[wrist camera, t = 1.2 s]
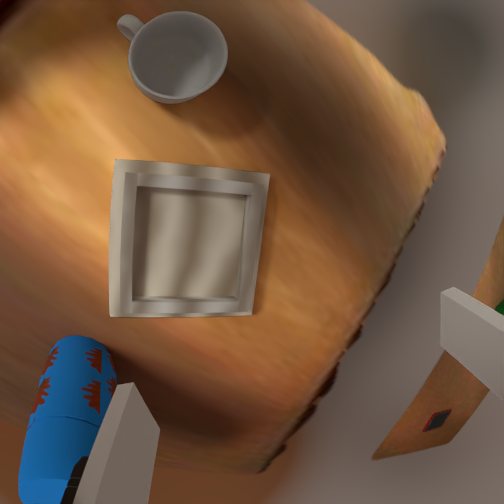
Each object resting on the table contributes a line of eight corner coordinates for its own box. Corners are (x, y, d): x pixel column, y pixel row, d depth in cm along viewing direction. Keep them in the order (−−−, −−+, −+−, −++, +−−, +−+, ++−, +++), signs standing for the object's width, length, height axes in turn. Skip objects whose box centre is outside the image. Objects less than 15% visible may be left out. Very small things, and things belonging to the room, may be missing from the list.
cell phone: (440, 425, 91) (442, 426, 90) (421, 431, 85) (422, 432, 84) (450, 408, 90) (452, 409, 89) (432, 413, 84) (434, 414, 83)
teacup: (226, 76, 38) (248, 59, 31) (164, 128, 37) (172, 118, 30) (161, 8, 32) (170, -21, 25) (96, 56, 31) (90, 32, 24)
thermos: (59, 395, 40) (47, 530, 17) (39, 337, 37) (-5, 473, 14) (123, 390, 44) (142, 530, 21) (109, 331, 41) (110, 475, 18)
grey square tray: (110, 312, 40) (109, 323, 37) (115, 159, 36) (114, 158, 33) (248, 311, 48) (256, 321, 45) (265, 173, 44) (276, 174, 40)
